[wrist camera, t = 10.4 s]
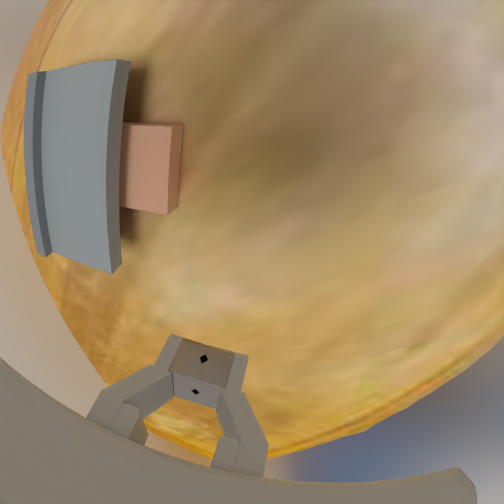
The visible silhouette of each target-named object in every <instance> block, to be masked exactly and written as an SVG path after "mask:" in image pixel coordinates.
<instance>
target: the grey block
mask: <svg viewBox="0 0 504 504" xmlns="http://www.w3.org/2000/svg"><path fill="white" fill-rule="evenodd" d="M130 65H131V62H130V61H123V60H107V61H99V62H92V63H85V64H79V65H74V66H68V67H63V68H59V69H54V70H50V71H42V72H35V73H31V74H28V81H27V90H26V101H25V117H24V159H25V176H26V187H27V196H28V204H29V211H30V218H31V224H32V230H33V235H34V240H35V245H36V249H37V254H39V255H41V256H44V257H47V256H48V255H49V254H51V253H52V252H54V253H56V254H59V255H61V256H64V257H66V258H69V259H72V260H74V261H77V262H79V263H82V264H85V265H87V266H90V267H93V268H96V269H98V270H101V271H104V272H107V273H110V274H112V273H113V272H114V271H115V270H116V269H117V268H118V267H119V266H120V265H121V264H122V258H121V244H120V222H119V169H120V148H121V134H122V123H123V113H124V104H125V96H126V89H127V82H128V76H129V70H130Z"/></svg>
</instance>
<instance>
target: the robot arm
mask: <svg viewBox="0 0 504 504" xmlns="http://www.w3.org/2000/svg"><path fill="white" fill-rule="evenodd" d="M234 354H235V355H234ZM247 362H248V355H244V354H240V353H236V352H233V351H229V350H225V349H221V348H218V347H214V346H210V345H209V346H208V345H205V344H202V343H199V342H196V341H193V340H190V339H187V338H184V337H181V336H177V335H174V334H171V335H170V336H169V337H168V339H167V341H166V343H165V345H164V347H163V349H162V351H161V353H160V355H159V357H158V359H157V361H156V363H155V365H154V366H153V365H149V366H147V367H145V368H143V369H141V370H139V371H138V372H136V373H134V374H132V375H130V376H128V377H126V378H124V379H123V380H121V381H119V382H117V383H115V384H113V385H111V386H109V387H107V388H105V389H103V390H102V391H101V392H100V394H99V396H98V397H97V399H96V401H95V403H94V405H93V407H92V408H91V410H90V412H89V414H88V416H87V417H86V418H85V417H84V416H81V415H80V414H78V413H77V412H75V411H73V410H71V409H70V408H68V407H66V406H65V405H63V404H62V403H60V402H58V401H57V400H55V399H54V398H52V397H51V396H49V395H48V394H46V393H45V392H44V391H42V390H41V389H39V388H38V387H37V386H35V385H34V384H32V383H31V382H30V381H28V380H27V379H26V378H24V377H23V376H22V375H21V374H19V373H18V372H17V371H16V370H14V369H13V368H12V367H11V366H10V365H8V364H7V363H6V362H5V361H4V360H3V359H1V358H0V504H477V493H476V488H475V485H474V484H473V483H472V481H471V480H470V479H469V478H468V476H466V474H465V473H464V472H463V471H462V470H461V469H459V468H452V469H447V470H443V471H439V472H435V473H430V474H425V475H419V476H414V477H408V478H401V479H393V480H385V481H374V482H356V483H315V482H298V481H286V480H278V479H269V478H263V475H264V469H265V463H266V457H267V451H268V445H269V444H268V442H267V440H266V438H265V436H264V434H263V432H262V430H261V428H260V425H259V423H258V421H257V419H256V417H255V415H254V413H253V411H252V408H251V406H250V404H249V402H248V400H247V397H246V395H245V393H243V392H241V388H242V384H243V380H244V375H245V371H246V367H247ZM174 396H175V397H178V398H182V399H185V400H188V401H192V402H195V403H198V404H202V405H205V406H208V407H211V408H215V409H216V412H217V415H218V418H219V421H220V424H221V427H222V430H223V433H224V436H223V437H221V438H219V441H218V444H217V447H216V450H215V453H214V456H213V460H212V463H211V467H208V466H204V465H201V464H197V463H194V462H190V461H187V460H183V459H180V458H177V457H174V456H171V455H168V454H165V453H163V452H160V451H157V450H154V449H151V448H149V447H147V446H144V445H145V442H146V440H147V437H148V432H147V429H146V427H145V424H144V422H143V419H144V418H145V417H147V416H148V415H150V414H151V413H153V412H154V411H155V410H157V409H158V408H160V407H161V406H162V405H164V404H165V403H167V402H168V401H169V400H171V399H172V398H173V397H174Z"/></svg>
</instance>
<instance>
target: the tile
mask: <svg viewBox="0 0 504 504" xmlns="http://www.w3.org/2000/svg"><path fill="white" fill-rule="evenodd" d="M182 135H183V125H178V124H162V123H127V122H123V123H122V134H121V148H120V169H119V206H120V207H125V208H131V209H136V210H142V211H147V212H153V213H158V214H164V215H168V214H169V213H170V212H171V211H173V210H174V209H175V208H176V207H177V206H178V190H179V173H180V159H181V146H182Z"/></svg>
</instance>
